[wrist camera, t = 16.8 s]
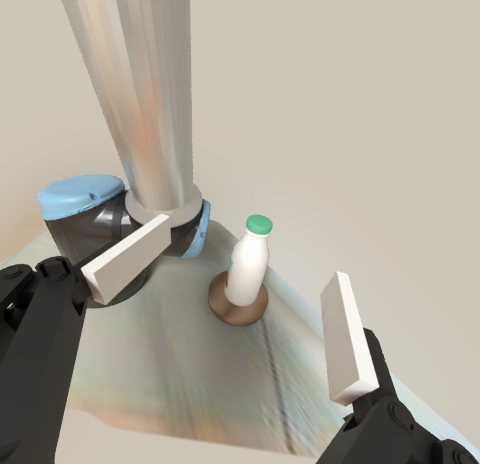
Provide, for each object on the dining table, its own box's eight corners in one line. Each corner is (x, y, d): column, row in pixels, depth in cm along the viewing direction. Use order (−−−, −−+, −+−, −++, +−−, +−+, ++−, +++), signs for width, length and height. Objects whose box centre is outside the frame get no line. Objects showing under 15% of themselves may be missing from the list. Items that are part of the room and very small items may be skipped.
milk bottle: (262, 296, 44) (290, 225, 33) (239, 314, 39) (262, 238, 28) (240, 275, 48) (258, 206, 37) (217, 289, 43) (229, 214, 32)
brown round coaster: (196, 307, 41) (196, 302, 40) (224, 268, 52) (225, 263, 51) (256, 337, 38) (258, 332, 37) (271, 288, 49) (273, 283, 48)
